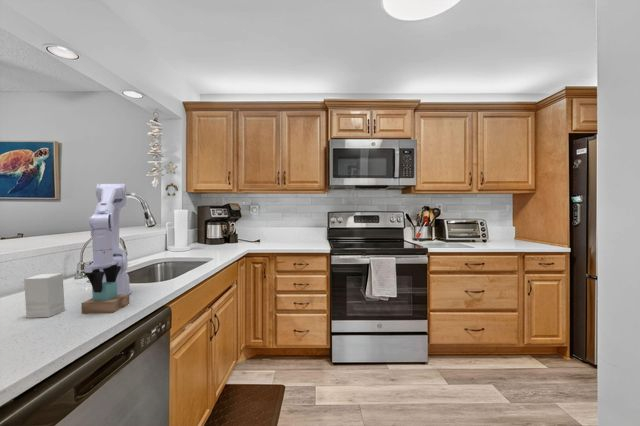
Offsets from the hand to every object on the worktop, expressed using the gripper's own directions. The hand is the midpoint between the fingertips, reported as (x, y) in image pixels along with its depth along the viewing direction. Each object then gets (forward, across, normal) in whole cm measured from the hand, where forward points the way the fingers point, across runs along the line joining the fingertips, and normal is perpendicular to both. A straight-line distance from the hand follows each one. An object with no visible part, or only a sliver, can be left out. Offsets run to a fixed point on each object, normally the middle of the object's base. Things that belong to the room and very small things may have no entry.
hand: (104, 289), depth 117 cm
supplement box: (+7, -6, +16) cm, 18 cm away
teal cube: (+3, 0, 0) cm, 3 cm away
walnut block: (+7, 0, 0) cm, 7 cm away
